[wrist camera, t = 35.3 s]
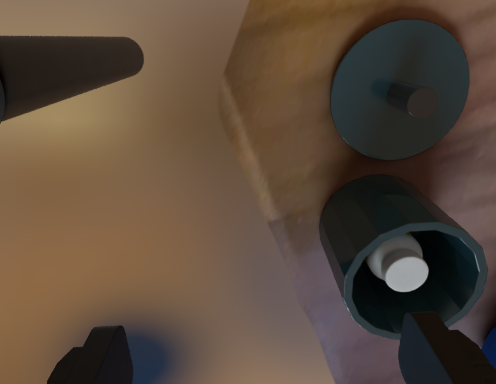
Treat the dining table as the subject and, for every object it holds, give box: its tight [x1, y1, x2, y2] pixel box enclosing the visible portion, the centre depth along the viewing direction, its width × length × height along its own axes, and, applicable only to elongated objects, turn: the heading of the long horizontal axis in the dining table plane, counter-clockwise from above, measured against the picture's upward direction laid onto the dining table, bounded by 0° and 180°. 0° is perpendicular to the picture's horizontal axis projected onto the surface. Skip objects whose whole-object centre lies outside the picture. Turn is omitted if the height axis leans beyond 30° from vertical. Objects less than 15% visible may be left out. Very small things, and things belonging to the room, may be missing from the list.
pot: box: [319, 175, 488, 340], centre depth 38 cm, size 13×13×12 cm
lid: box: [330, 19, 469, 160], centre depth 34 cm, size 14×14×6 cm
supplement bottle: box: [364, 232, 428, 292], centre depth 38 cm, size 5×5×10 cm
